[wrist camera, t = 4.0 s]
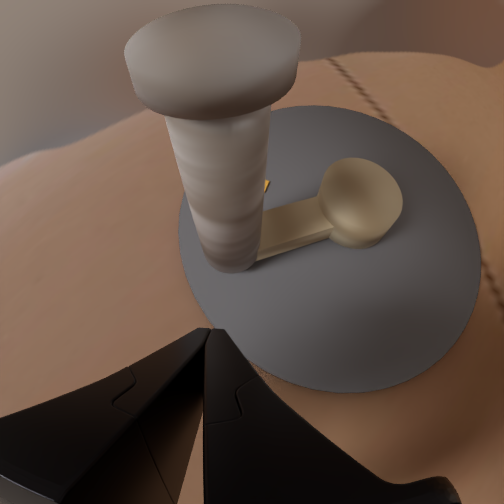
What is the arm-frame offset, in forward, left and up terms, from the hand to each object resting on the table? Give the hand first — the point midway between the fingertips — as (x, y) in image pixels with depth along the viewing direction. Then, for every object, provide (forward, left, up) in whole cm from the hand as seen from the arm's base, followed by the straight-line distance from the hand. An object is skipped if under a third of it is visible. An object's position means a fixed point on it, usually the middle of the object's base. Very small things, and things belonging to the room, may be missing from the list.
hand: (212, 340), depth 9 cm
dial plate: (+4, -11, -8) cm, 14 cm away
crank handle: (+5, -7, -7) cm, 11 cm away
